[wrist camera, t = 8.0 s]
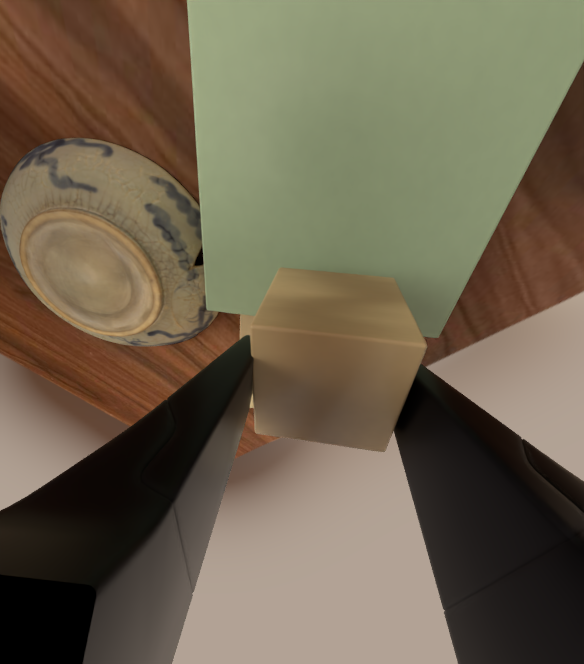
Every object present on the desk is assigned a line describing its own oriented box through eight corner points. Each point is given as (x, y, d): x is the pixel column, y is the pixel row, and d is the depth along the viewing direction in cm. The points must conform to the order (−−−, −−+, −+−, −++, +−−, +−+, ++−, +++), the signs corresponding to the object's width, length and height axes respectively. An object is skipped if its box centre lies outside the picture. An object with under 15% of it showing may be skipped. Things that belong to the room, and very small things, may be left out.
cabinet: (388, 270, 19) (438, 339, 12) (241, 251, 19) (205, 310, 12) (475, 12, 12) (712, -179, 5) (247, -29, 12) (166, -298, 5)
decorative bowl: (-36, 219, 18) (130, 367, 25) (-105, 231, 15) (106, 397, 22) (113, 74, 14) (264, 300, 21) (61, 50, 11) (258, 324, 18)
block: (395, 276, 9) (430, 345, 6) (370, 366, 11) (385, 454, 8) (278, 266, 9) (248, 324, 6) (277, 355, 12) (253, 434, 8)
